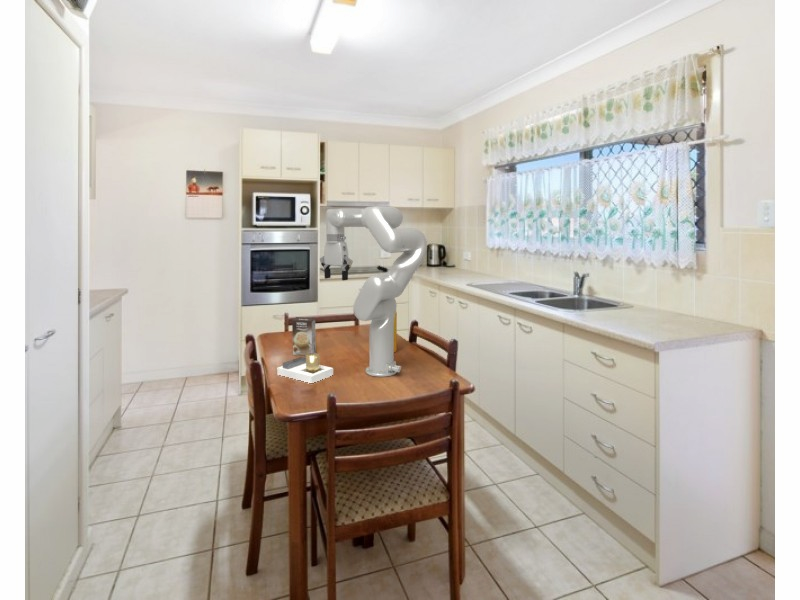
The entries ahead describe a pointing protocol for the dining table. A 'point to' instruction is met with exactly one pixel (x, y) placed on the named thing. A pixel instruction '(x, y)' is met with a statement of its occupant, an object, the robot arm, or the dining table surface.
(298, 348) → the coffee box
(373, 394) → the dining table surface
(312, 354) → the bushing
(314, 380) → the jig
